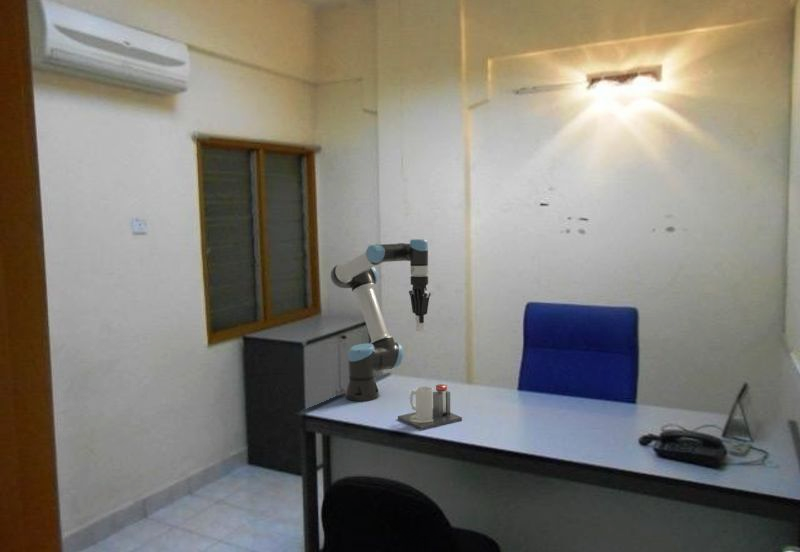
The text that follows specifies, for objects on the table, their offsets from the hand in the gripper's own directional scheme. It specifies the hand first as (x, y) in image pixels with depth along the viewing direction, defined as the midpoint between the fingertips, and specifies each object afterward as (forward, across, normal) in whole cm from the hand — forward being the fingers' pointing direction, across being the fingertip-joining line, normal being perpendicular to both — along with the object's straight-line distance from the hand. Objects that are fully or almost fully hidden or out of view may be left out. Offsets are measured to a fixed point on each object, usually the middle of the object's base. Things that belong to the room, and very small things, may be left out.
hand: (419, 330), depth 258 cm
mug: (+31, +19, -13) cm, 39 cm away
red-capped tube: (+30, +19, -3) cm, 36 cm away
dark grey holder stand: (+32, +19, -9) cm, 39 cm away
